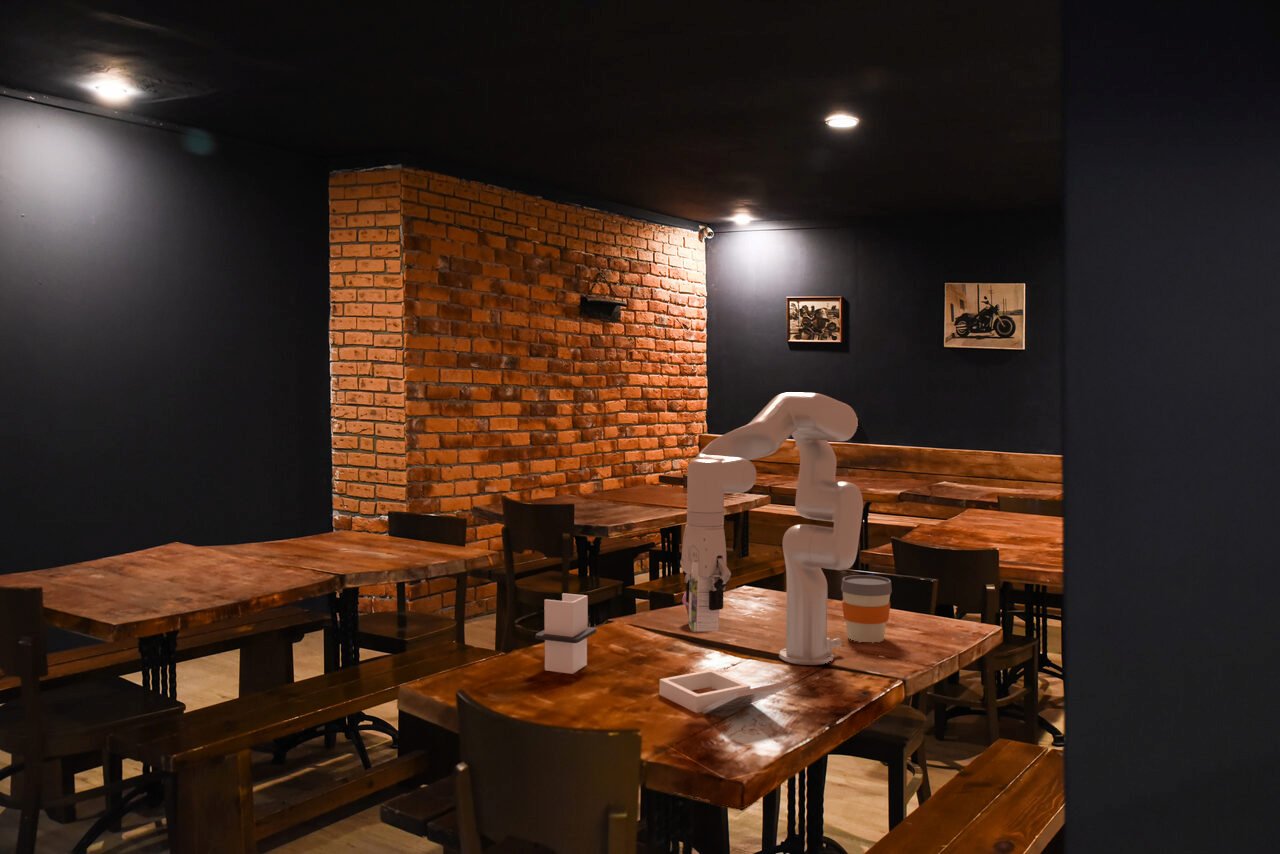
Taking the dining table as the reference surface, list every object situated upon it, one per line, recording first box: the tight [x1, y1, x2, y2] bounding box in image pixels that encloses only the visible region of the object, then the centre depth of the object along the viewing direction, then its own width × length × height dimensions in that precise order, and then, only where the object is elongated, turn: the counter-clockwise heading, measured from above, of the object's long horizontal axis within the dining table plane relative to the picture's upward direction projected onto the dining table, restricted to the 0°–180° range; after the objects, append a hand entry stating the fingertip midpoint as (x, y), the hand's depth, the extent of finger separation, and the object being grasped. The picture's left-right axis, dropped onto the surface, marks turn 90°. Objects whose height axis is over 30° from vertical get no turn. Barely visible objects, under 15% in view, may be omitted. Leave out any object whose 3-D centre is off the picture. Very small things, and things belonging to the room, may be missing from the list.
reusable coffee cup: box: [840, 574, 893, 644], centre depth 259 cm, size 13×13×15 cm
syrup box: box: [688, 560, 720, 633], centre depth 210 cm, size 6×6×14 cm
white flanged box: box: [535, 592, 597, 675], centre depth 233 cm, size 25×24×16 cm
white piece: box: [659, 669, 751, 714], centre depth 211 cm, size 13×13×4 cm
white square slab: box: [702, 681, 789, 715], centre depth 199 cm, size 13×12×1 cm
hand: (704, 605), depth 210 cm, fingers closed on syrup box, 7 cm apart
